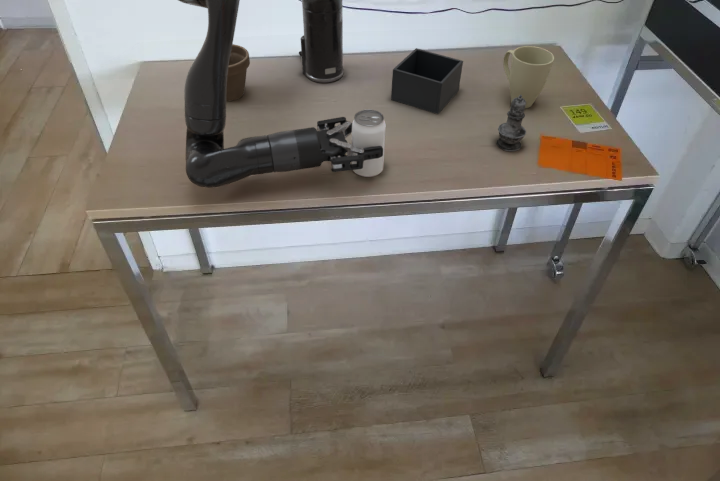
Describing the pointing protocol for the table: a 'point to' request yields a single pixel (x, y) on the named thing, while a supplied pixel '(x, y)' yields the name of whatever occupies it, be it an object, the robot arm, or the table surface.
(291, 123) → the table surface
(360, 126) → the can
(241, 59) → the flower pot
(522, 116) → the grey chess piece
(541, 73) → the mug
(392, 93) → the waste bin
